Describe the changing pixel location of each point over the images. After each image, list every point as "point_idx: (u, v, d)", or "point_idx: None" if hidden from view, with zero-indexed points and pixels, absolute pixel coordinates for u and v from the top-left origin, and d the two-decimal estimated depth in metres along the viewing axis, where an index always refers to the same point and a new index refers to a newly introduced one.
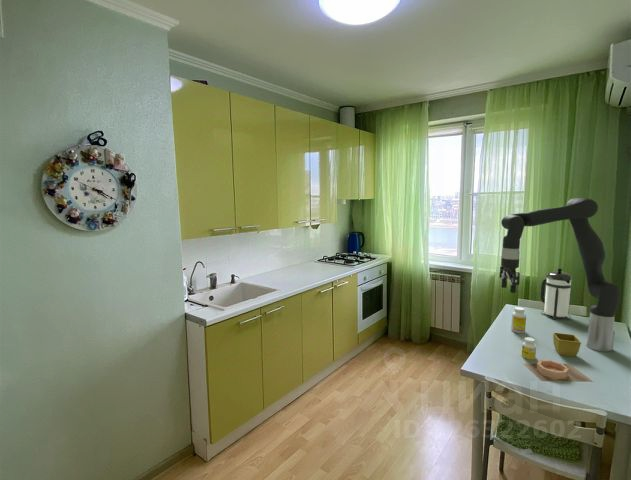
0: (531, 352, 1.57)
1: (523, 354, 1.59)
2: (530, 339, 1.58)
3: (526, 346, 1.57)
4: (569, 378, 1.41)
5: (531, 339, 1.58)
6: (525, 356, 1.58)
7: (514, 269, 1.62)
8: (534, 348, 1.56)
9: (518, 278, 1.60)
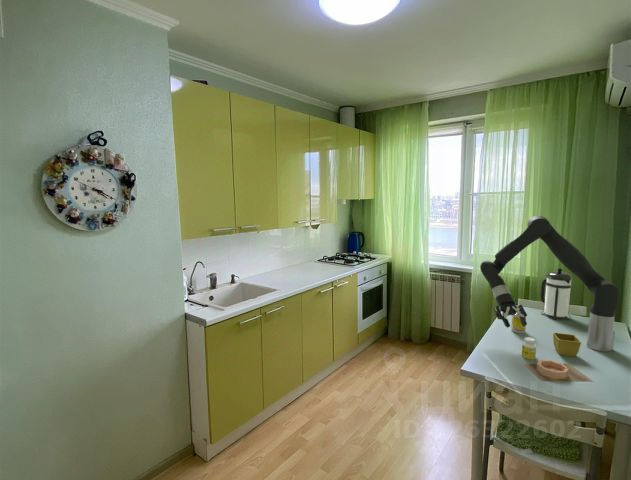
0: (531, 352, 1.57)
1: (523, 354, 1.59)
2: (530, 339, 1.58)
3: (526, 346, 1.57)
4: (569, 378, 1.41)
5: (531, 339, 1.58)
6: (525, 356, 1.58)
7: (500, 305, 1.72)
8: (534, 348, 1.56)
9: (497, 311, 1.70)
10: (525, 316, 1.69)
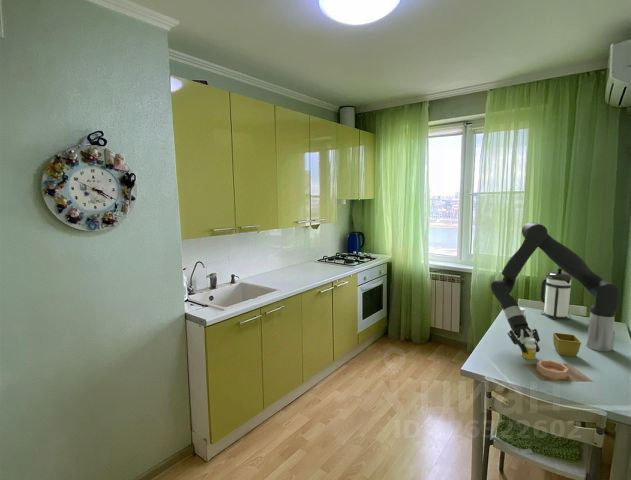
0: (531, 352, 1.57)
1: (523, 354, 1.59)
2: (530, 339, 1.58)
3: (526, 346, 1.57)
4: (569, 378, 1.41)
5: (531, 339, 1.58)
6: (525, 356, 1.58)
7: (513, 327, 1.64)
8: (534, 348, 1.56)
9: (512, 336, 1.60)
10: (537, 341, 1.60)
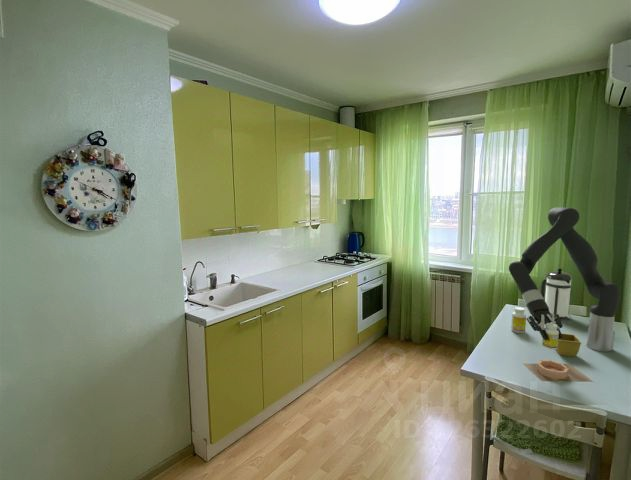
0: (553, 338, 1.43)
1: (544, 341, 1.46)
2: (552, 325, 1.44)
3: (548, 332, 1.44)
4: (569, 378, 1.41)
5: (553, 325, 1.44)
6: (546, 343, 1.45)
7: (532, 313, 1.50)
8: (556, 334, 1.43)
9: (532, 322, 1.47)
10: (560, 327, 1.46)
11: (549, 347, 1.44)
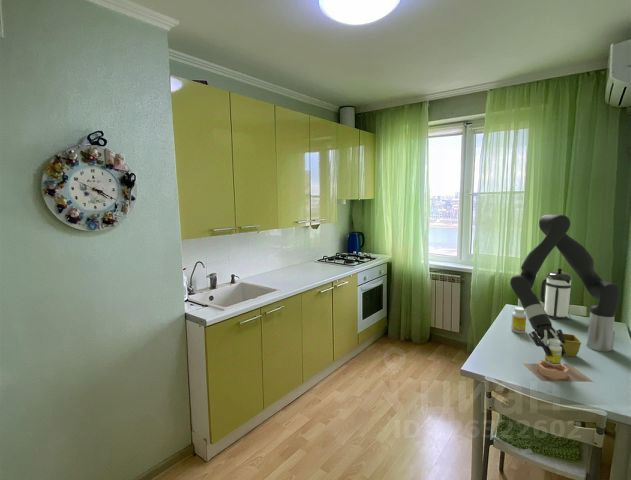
0: (556, 354, 1.42)
1: (547, 357, 1.44)
2: (555, 341, 1.43)
3: (551, 348, 1.43)
4: (569, 378, 1.41)
5: (556, 341, 1.43)
6: (549, 359, 1.44)
7: (535, 328, 1.49)
8: (560, 350, 1.42)
9: (535, 338, 1.46)
10: (563, 343, 1.45)
11: (552, 363, 1.43)
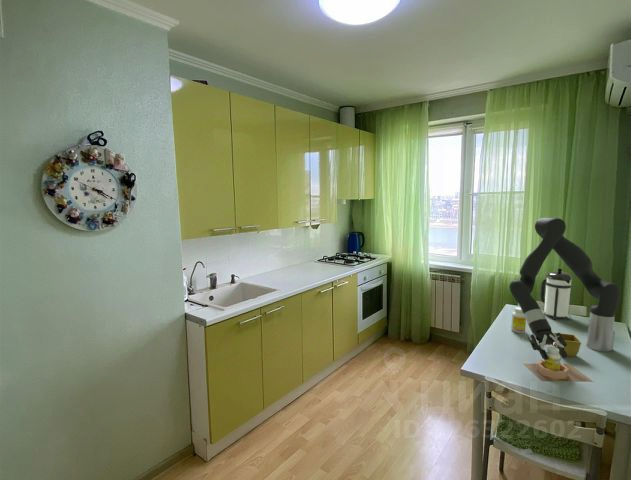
0: (555, 363, 1.43)
1: (546, 365, 1.45)
2: (554, 349, 1.44)
3: (550, 356, 1.43)
4: (569, 378, 1.41)
5: (555, 349, 1.44)
6: (548, 367, 1.44)
7: (535, 333, 1.49)
8: (559, 359, 1.42)
9: (533, 341, 1.46)
10: (565, 346, 1.46)
11: None
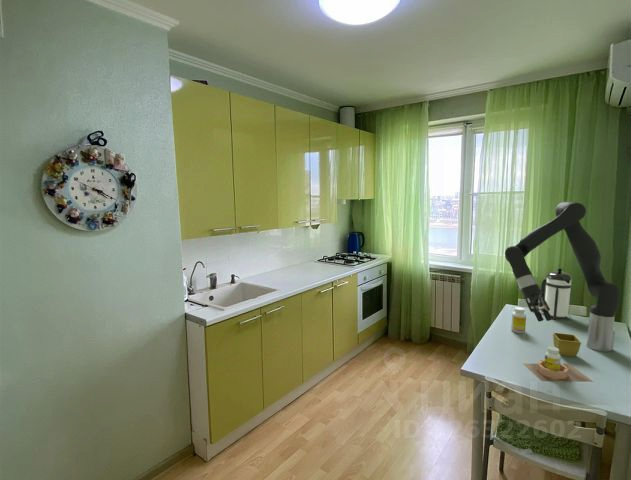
0: (555, 363, 1.43)
1: (546, 365, 1.45)
2: (554, 349, 1.44)
3: (550, 356, 1.43)
4: (569, 378, 1.41)
5: (555, 349, 1.44)
6: (548, 367, 1.44)
7: (530, 296, 1.57)
8: (559, 359, 1.42)
9: (532, 303, 1.53)
10: (548, 310, 1.59)
11: None
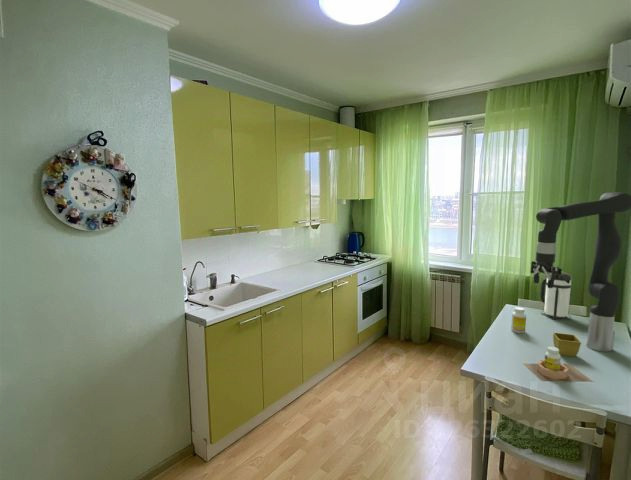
0: (555, 363, 1.43)
1: (546, 365, 1.45)
2: (554, 349, 1.44)
3: (550, 356, 1.43)
4: (569, 378, 1.41)
5: (555, 349, 1.44)
6: (549, 367, 1.44)
7: (551, 264, 1.59)
8: (559, 359, 1.42)
9: (557, 273, 1.57)
10: None
11: None
